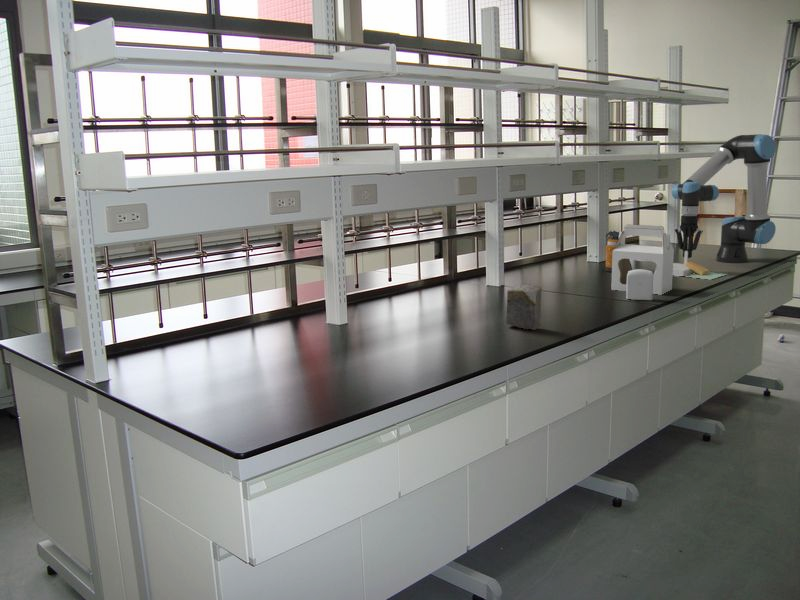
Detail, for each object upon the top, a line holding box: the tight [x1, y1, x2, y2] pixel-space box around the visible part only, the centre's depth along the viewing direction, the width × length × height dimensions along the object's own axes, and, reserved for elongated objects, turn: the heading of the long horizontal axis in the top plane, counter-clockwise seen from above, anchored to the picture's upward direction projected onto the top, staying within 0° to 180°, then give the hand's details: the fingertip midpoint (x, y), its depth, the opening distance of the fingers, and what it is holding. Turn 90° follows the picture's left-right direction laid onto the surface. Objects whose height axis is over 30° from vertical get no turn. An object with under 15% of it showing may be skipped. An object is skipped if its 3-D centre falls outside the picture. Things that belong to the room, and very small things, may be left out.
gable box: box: [610, 224, 675, 296], centre depth 312 cm, size 22×13×28 cm, turn 52°
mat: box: [684, 271, 728, 281], centre depth 343 cm, size 18×12×1 cm, turn 133°
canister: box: [604, 230, 620, 273], centre depth 360 cm, size 9×11×20 cm
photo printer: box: [625, 268, 654, 301], centre depth 295 cm, size 10×4×12 cm, turn 72°
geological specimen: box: [505, 284, 542, 331], centre depth 254 cm, size 11×6×15 cm, turn 56°
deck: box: [654, 262, 696, 277], centre depth 353 cm, size 18×14×3 cm
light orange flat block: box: [685, 260, 710, 275], centre depth 347 cm, size 9×6×2 cm, turn 43°
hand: (686, 264), depth 350 cm, fingers closed
